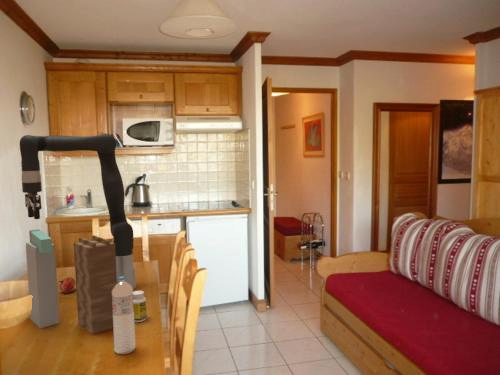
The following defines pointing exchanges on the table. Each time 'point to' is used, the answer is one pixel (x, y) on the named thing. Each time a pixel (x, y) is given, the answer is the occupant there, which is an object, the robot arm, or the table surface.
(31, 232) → the teal bar
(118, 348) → the water bottle
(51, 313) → the grey stand
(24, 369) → the table surface
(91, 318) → the walnut stand
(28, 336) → the table surface
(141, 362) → the table surface
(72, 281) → the pomegranate
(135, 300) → the pill bottle
